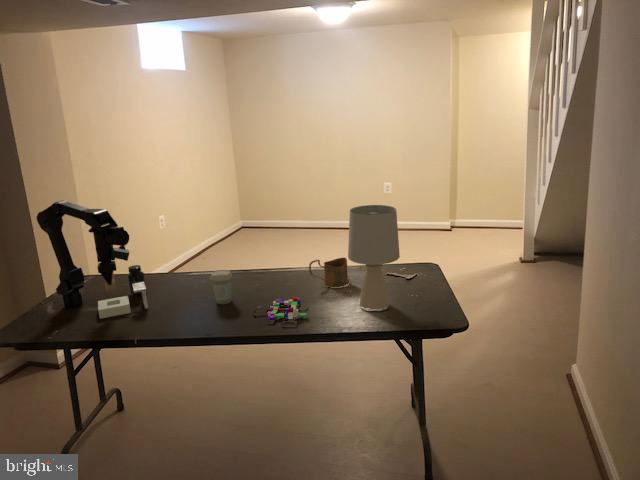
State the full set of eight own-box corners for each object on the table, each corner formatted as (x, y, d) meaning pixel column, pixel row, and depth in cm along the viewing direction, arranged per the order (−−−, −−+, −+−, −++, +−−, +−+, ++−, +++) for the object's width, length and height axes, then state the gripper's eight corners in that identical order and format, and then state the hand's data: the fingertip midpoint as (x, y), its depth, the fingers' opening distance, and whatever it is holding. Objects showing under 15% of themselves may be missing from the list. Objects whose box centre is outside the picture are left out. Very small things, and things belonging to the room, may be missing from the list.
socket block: (99, 318, 191) (98, 310, 190) (99, 309, 200) (97, 301, 199) (130, 312, 195) (129, 304, 194) (129, 303, 204) (127, 295, 203)
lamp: (398, 317, 180) (398, 215, 170) (346, 315, 184) (342, 215, 174) (401, 297, 197) (400, 204, 187) (353, 296, 201) (350, 204, 191)
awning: (137, 311, 197) (133, 290, 194) (135, 303, 205) (132, 283, 202) (148, 308, 198) (145, 288, 196) (146, 301, 206) (143, 281, 204)
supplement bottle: (149, 290, 218) (145, 264, 214) (142, 296, 211) (138, 269, 208) (134, 290, 218) (130, 264, 215) (127, 296, 212) (122, 269, 209)
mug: (305, 285, 216) (303, 257, 213) (342, 277, 223) (341, 251, 220) (316, 293, 206) (315, 265, 202) (354, 285, 213) (354, 258, 209)
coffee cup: (208, 303, 200) (205, 275, 197) (222, 296, 208) (219, 268, 204) (225, 307, 196) (222, 277, 193) (239, 299, 204) (236, 270, 200)
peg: (105, 290, 193) (102, 270, 191) (105, 287, 196) (102, 268, 194) (116, 289, 194) (112, 269, 192) (115, 286, 197) (112, 266, 195)
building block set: (259, 301, 202) (258, 291, 200) (311, 301, 200) (310, 290, 199) (246, 329, 178) (245, 317, 176) (304, 329, 176) (304, 317, 175)
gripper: (127, 246, 185) (133, 287, 189) (124, 235, 201) (130, 272, 206) (94, 251, 181) (101, 292, 185) (94, 239, 197) (100, 277, 202)
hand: (109, 283), depth 194 cm, fingers closed on peg, 4 cm apart
